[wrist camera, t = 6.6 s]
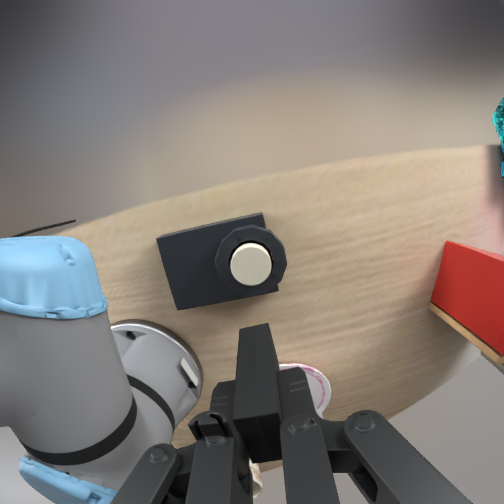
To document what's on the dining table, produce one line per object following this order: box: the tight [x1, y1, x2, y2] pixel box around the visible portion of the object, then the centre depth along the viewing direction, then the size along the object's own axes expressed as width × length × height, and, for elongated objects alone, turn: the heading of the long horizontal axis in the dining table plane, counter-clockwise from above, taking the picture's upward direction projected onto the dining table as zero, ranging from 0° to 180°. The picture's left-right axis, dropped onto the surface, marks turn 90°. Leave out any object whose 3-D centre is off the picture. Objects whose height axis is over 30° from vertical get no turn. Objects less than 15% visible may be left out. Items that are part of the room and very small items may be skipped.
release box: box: [157, 212, 287, 310], centre depth 29 cm, size 8×12×4 cm, turn 102°
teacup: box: [279, 363, 332, 419], centre depth 32 cm, size 12×12×6 cm
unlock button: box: [231, 243, 271, 285], centre depth 27 cm, size 4×4×2 cm
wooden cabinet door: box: [429, 303, 504, 374], centre depth 26 cm, size 6×13×15 cm, turn 81°
